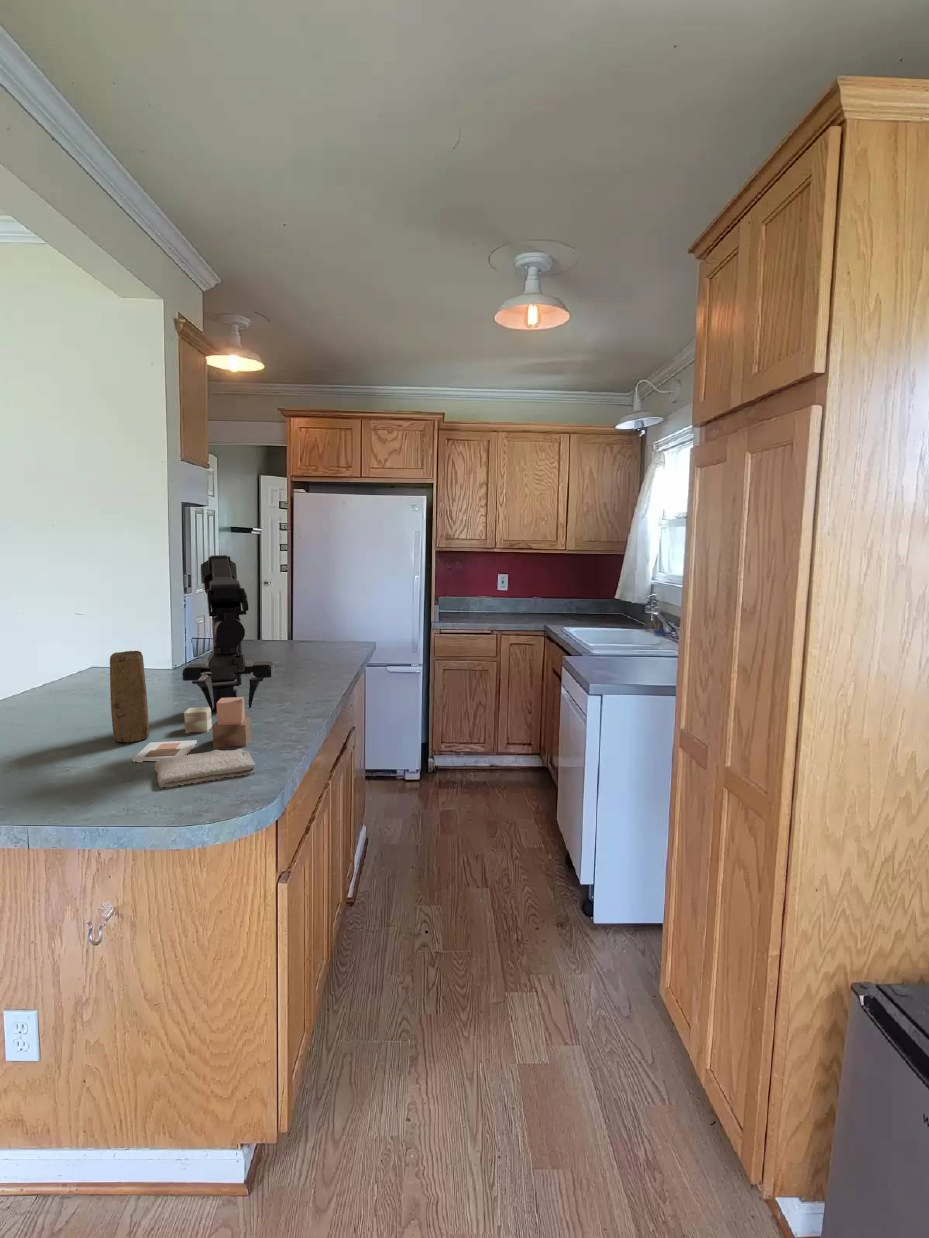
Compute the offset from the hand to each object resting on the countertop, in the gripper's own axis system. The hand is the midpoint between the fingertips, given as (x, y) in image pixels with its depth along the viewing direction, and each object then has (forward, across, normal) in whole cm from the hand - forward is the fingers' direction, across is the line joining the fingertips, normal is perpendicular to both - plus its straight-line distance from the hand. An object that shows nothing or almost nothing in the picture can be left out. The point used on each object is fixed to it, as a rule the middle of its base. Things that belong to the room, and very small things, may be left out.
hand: (231, 708), depth 150 cm
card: (+8, -13, -5) cm, 16 cm away
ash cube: (+8, -10, +12) cm, 17 cm away
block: (+8, -24, +8) cm, 27 cm away
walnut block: (+8, 0, 0) cm, 8 cm away
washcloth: (+8, -2, -19) cm, 21 cm away
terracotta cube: (+3, 0, 0) cm, 3 cm away
